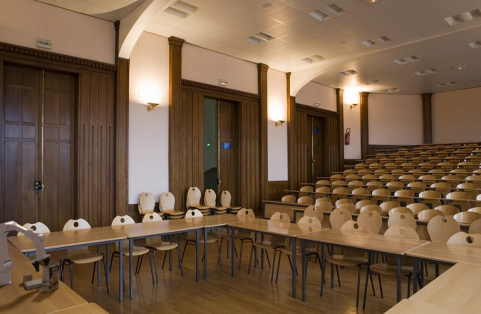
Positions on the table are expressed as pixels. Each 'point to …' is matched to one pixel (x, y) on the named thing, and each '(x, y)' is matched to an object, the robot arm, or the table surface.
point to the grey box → (33, 284)
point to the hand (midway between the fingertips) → (42, 270)
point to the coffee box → (50, 277)
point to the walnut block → (27, 277)
